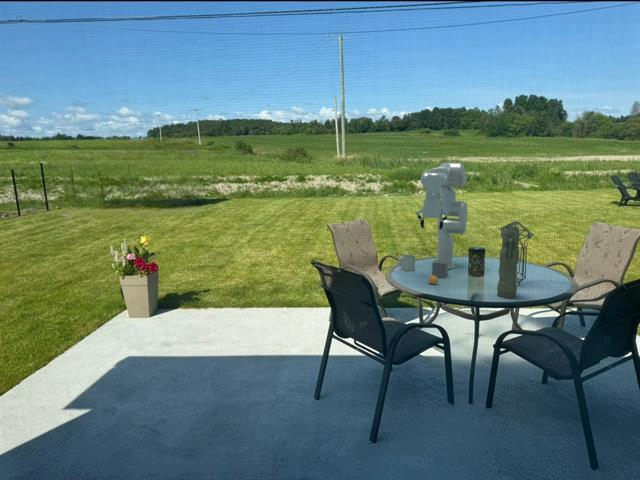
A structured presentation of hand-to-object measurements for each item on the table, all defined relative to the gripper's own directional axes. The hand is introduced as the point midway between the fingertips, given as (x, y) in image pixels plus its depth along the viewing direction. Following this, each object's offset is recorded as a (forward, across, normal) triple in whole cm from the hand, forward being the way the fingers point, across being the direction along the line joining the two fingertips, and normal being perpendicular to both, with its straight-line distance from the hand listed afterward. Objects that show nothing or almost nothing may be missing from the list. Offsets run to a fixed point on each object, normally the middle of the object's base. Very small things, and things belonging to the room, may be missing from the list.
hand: (431, 228), depth 244 cm
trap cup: (+31, -2, -20) cm, 37 cm away
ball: (+29, -2, -1) cm, 29 cm away
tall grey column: (+31, -40, +6) cm, 51 cm away
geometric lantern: (+31, -41, -20) cm, 56 cm away
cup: (+31, +20, -27) cm, 46 cm away
